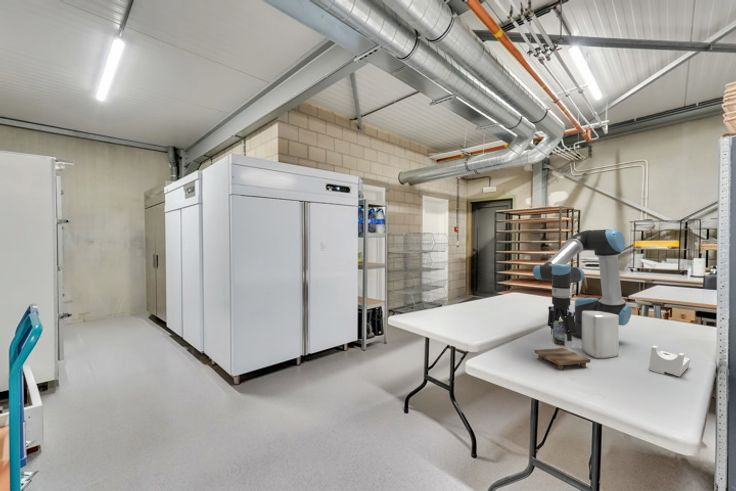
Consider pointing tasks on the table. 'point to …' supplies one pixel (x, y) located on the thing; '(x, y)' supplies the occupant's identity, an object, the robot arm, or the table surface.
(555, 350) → the wooden serving board
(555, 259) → the robot arm
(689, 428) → the table surface
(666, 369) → the white pipe support bracket
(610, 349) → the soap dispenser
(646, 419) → the table surface
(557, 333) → the beverage can
